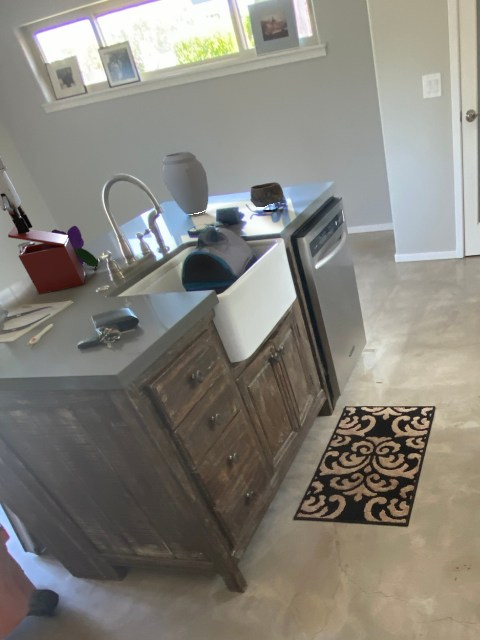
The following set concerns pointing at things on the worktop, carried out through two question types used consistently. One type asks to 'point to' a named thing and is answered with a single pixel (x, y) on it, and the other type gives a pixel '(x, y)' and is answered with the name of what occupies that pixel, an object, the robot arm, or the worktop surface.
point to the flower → (79, 246)
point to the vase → (186, 182)
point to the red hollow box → (52, 266)
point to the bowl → (266, 194)
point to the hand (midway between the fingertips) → (26, 229)
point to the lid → (39, 236)
